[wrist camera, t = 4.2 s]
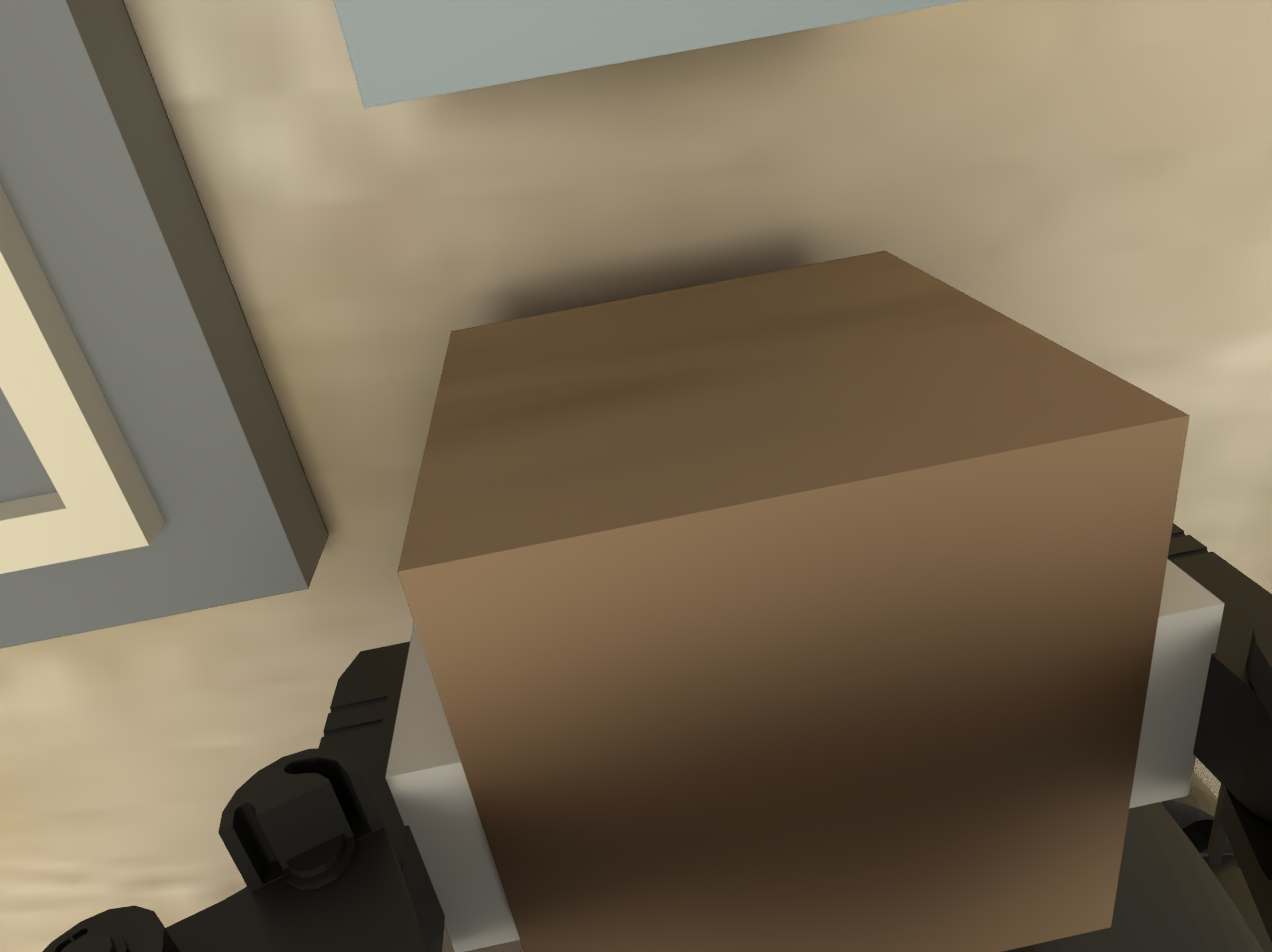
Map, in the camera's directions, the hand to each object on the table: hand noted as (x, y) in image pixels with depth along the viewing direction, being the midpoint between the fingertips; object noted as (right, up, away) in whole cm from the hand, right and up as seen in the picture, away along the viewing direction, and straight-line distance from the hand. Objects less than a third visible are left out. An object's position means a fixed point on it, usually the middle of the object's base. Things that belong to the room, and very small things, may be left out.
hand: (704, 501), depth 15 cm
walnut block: (0, 0, 0) cm, 0 cm away
